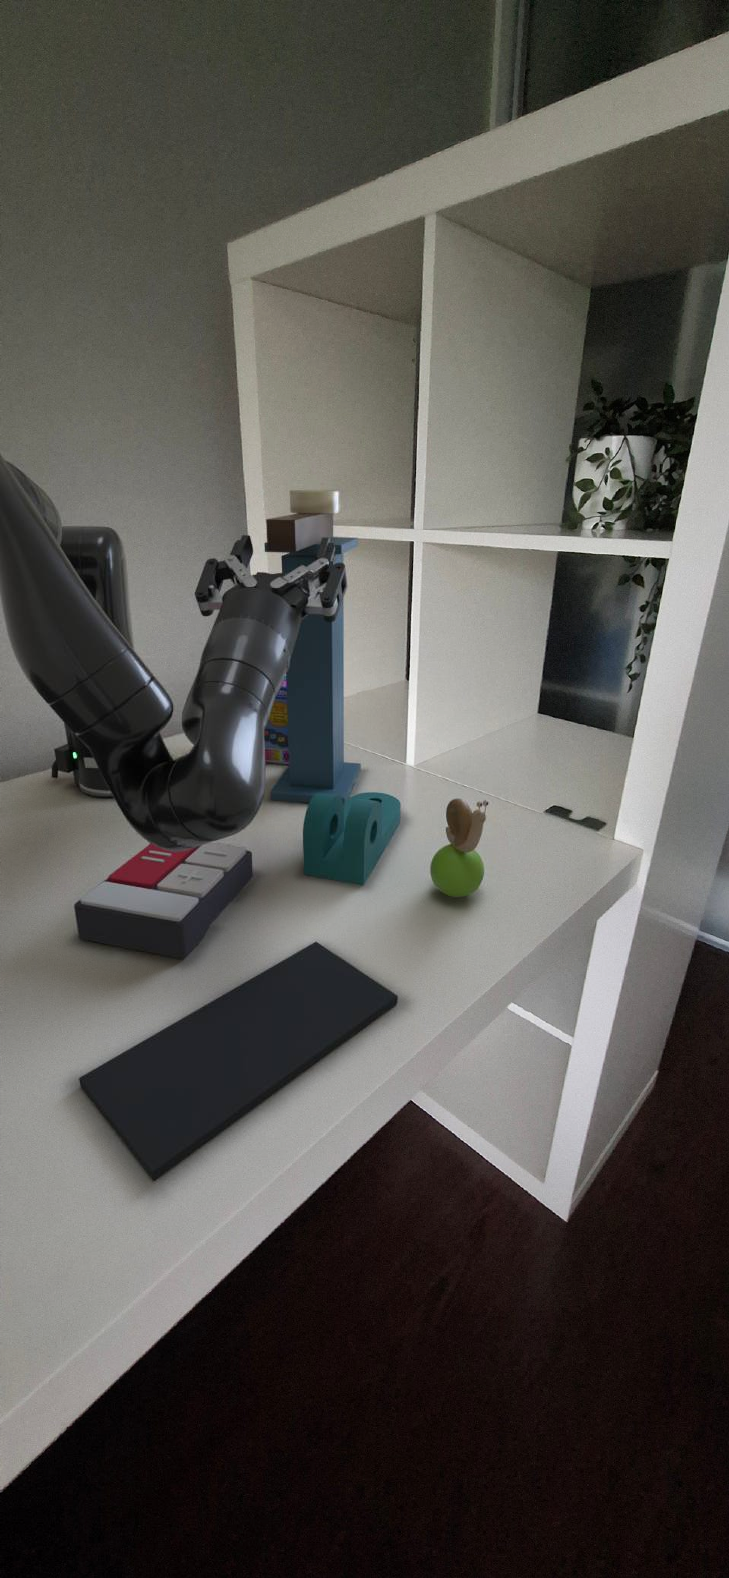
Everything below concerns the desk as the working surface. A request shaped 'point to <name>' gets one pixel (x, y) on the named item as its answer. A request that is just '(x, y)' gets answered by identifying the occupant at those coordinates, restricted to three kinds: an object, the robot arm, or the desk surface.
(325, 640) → the stand
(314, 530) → the tape bar
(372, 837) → the bracket
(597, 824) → the desk surface
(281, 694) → the ink cartridge box
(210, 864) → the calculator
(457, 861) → the snail figurine
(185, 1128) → the rubber mat
